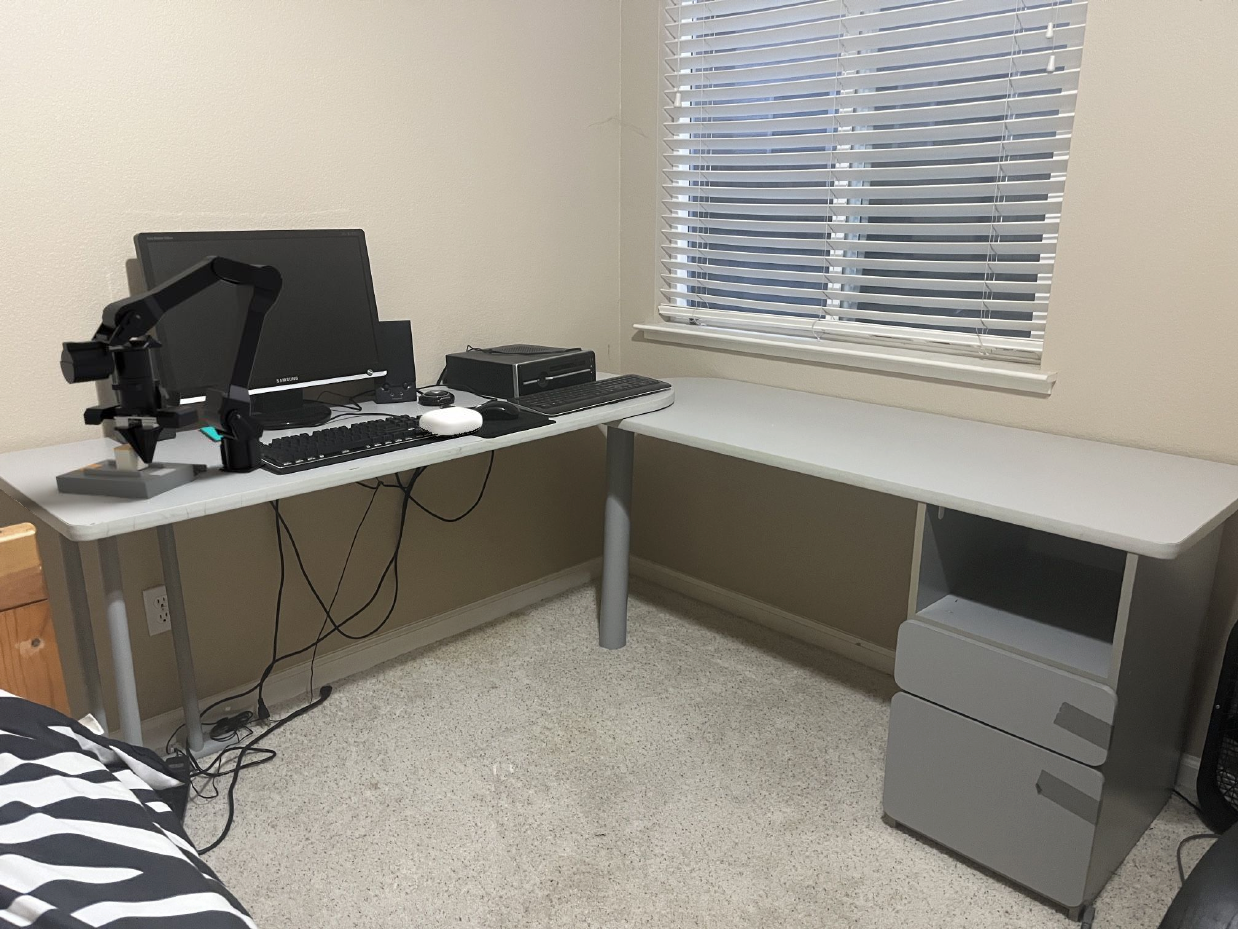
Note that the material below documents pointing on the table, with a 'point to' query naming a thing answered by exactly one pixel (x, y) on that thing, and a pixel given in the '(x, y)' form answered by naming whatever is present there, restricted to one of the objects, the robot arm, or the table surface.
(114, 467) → the grey tray
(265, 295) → the robot arm
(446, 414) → the earbud case
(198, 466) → the grey thin rod
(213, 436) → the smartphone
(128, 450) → the toggle
